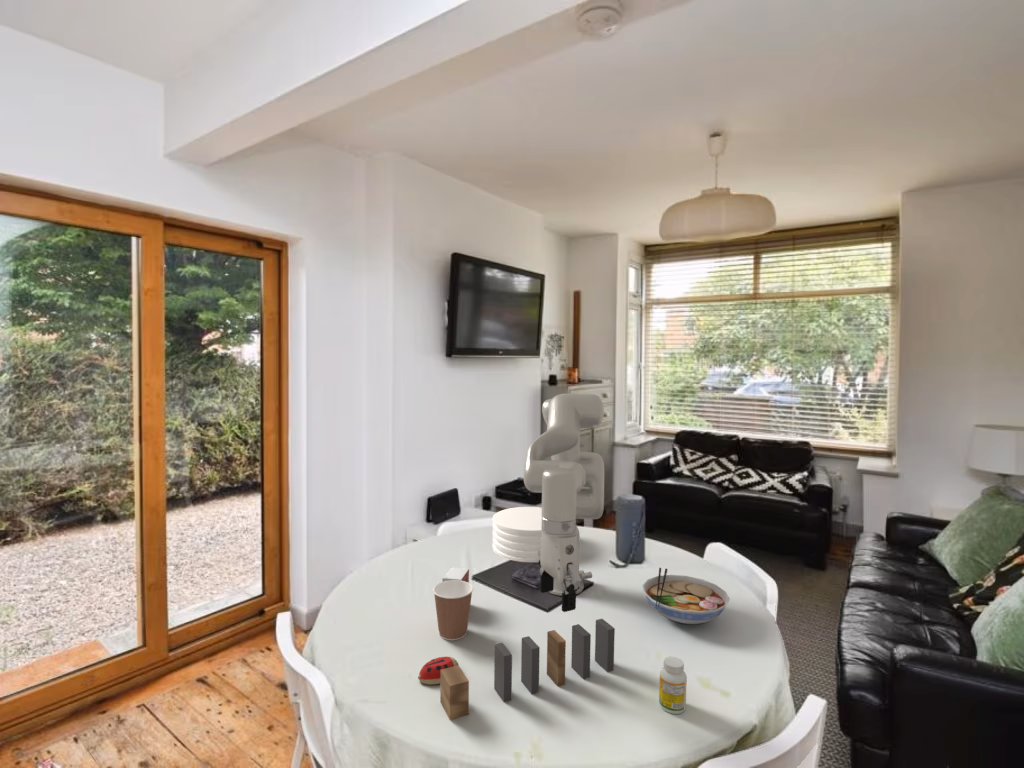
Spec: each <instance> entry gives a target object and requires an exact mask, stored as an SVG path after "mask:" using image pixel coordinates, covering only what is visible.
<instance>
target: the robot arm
mask: <svg viewBox="0 0 1024 768" xmlns="http://www.w3.org/2000/svg"><path fill="white" fill-rule="evenodd" d="M604 411H605V410H604V403H603V401H602V399H601V397H600V396H599V395H597V394H594V393H560V394H556V395H555V396H553V397H552V398H549V399H546V400H544V401H543V403H542V406H541V413H542V417H543V420H544V422H545V425H546V426H547V427H546V430H545V432H544V431H543V433H541V434H540V435H539V436H538V437H537V438H535V440H534V441H533V442H531V444H530V445H529V447H528V448H527V452H526V454H525V455H526V456H525V461H524V468H523V484H524V487H525V488H526V490H528V491H530V492H531V493H539V494H540V493H541V508H542V527H541V531H542V536H541V548H540V550H539V551H538V558H539V562H537V563H538V565H539V574H540V577H539V578H540V581H539V582H540V584H539V585H540V587H539V589H540V590H539V591H540V592H541V593H542V594H543V593H544V594H545V593H549V594H552V595H555V596H561V611H562V612H563V613H566V612H570V611H575V610H576V608H577V607H576V606H577V594H580V593H582V592H583V590H584V588H585V587H584V583H583V581H585V580H588V579H592V578H593V573H592V571H587V572H585V571H584V570H583V569H582V570H580V536H581V535H580V531H579V528H578V526H577V520H578V519H580V520H598V519H600V518H601V517H602V516H603V513H604V510H605V509H604V507H605V464H604V459H603V457H602V455H601V454H599V453H598V452H592V451H591V452H590V451H588V452H587V451H581V449H580V447H581V446H580V440H581V429H598V428H599V427H600V426H601V425H602V422H603V420H604V413H605V412H604ZM550 457H551V460H550V459H549V460H548V459H547V458H550ZM585 485H587V486H585Z"/></svg>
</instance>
